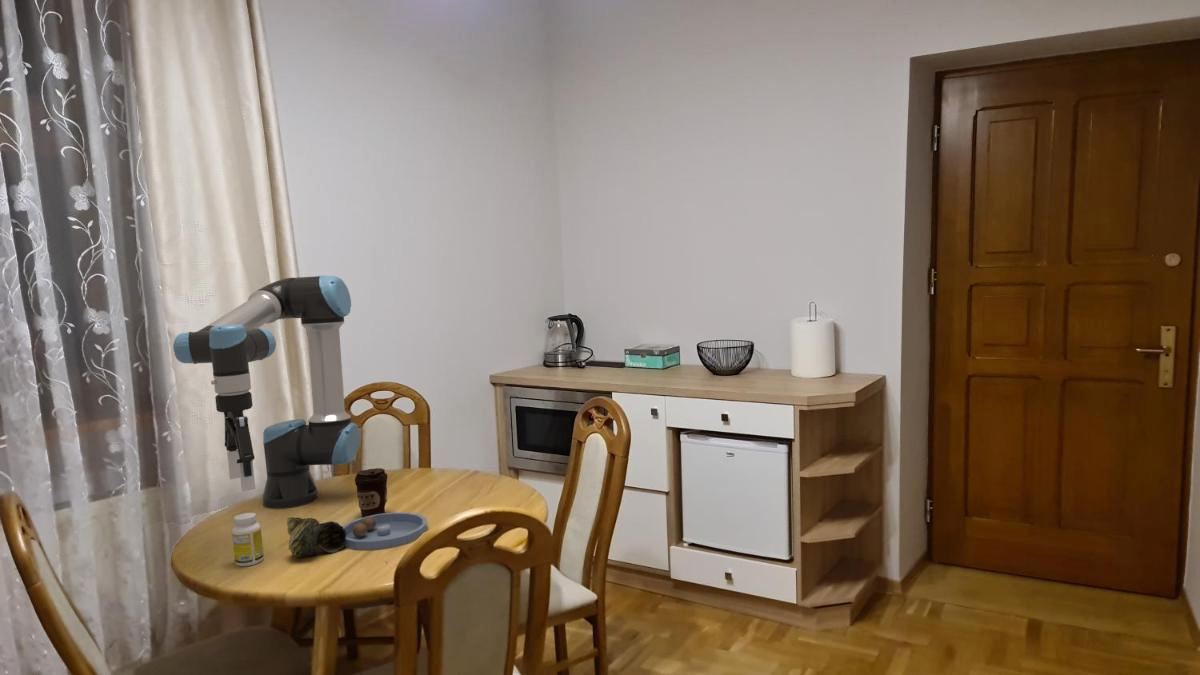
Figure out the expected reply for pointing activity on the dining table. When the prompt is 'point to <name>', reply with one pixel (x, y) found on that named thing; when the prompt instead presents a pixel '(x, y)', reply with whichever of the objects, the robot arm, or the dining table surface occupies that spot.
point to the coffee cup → (371, 491)
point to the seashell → (314, 537)
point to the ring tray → (397, 529)
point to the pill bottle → (247, 540)
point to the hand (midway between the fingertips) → (242, 484)
